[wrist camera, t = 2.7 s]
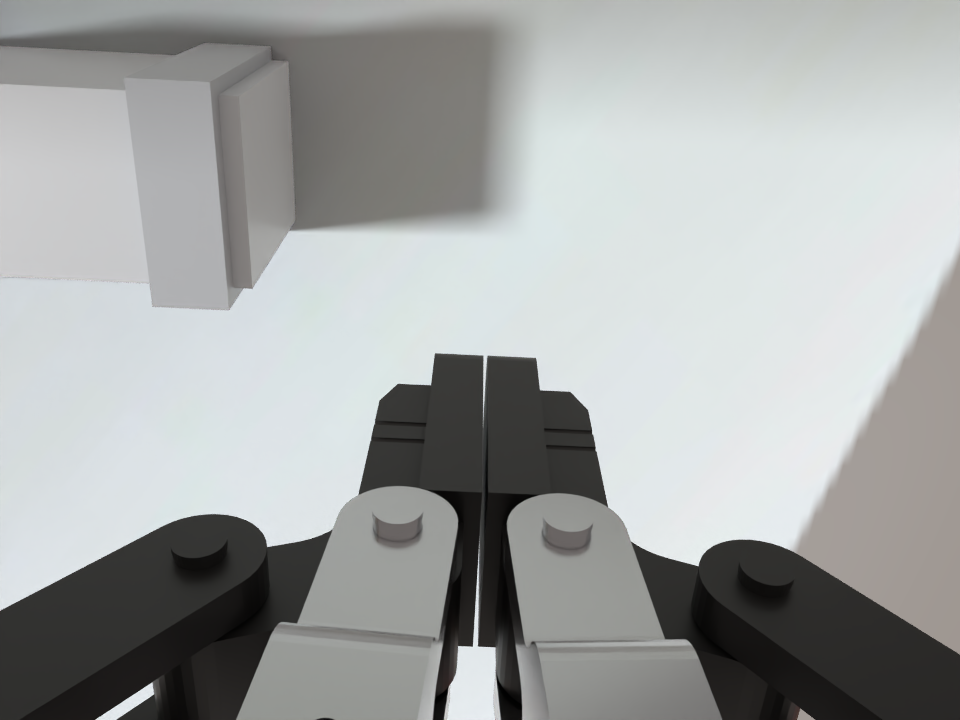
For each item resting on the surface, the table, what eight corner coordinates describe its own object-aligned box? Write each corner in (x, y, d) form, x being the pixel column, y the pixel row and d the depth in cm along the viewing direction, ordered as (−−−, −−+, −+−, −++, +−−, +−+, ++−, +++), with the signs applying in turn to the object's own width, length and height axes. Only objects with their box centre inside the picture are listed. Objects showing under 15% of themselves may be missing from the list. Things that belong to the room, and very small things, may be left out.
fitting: (-10, 216, 29) (-137, 292, 23) (-48, 29, 26) (-202, 60, 20) (296, 231, 29) (248, 311, 23) (288, 47, 26) (231, 83, 21)
